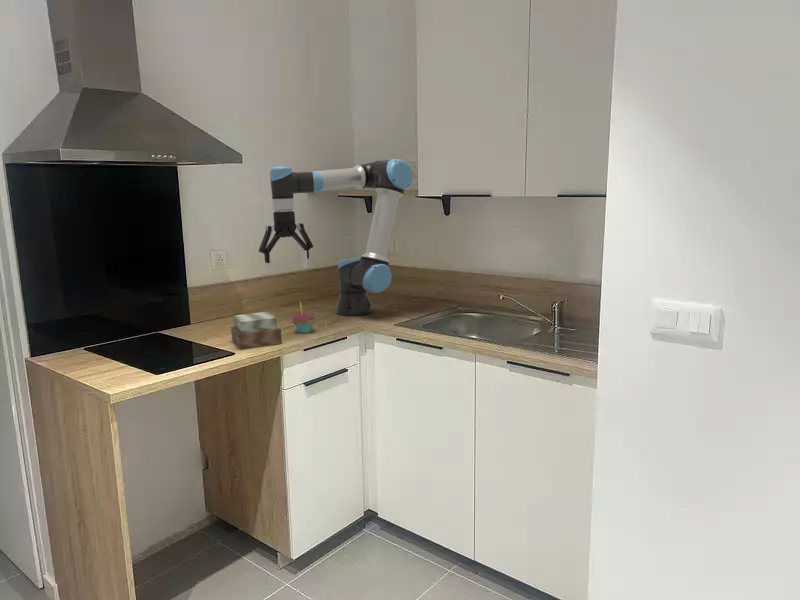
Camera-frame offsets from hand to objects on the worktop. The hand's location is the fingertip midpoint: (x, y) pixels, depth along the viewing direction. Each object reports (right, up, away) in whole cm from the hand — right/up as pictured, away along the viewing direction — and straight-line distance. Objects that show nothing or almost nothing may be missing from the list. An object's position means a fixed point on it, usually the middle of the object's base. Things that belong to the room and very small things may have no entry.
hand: (288, 270), depth 209 cm
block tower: (-9, -25, -9) cm, 29 cm away
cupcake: (+5, -23, +4) cm, 24 cm away
